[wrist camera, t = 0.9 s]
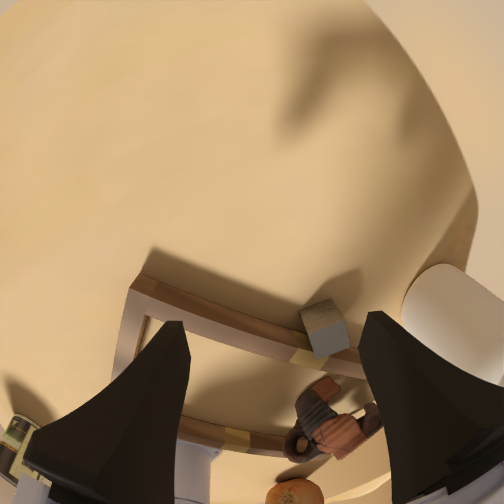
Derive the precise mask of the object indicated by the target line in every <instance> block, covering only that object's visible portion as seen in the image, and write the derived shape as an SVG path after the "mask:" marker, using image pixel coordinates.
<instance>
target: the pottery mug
mask: <svg viewBox="0 0 504 504" xmlns="http://www.w3.org/2000/svg"><path fill="white" fill-rule="evenodd" d="M340 391H341V388H340V386H339V385H338V384H336V383H335V382H334V381H333V380H332V379H331V377H330V376H327V377H325V378H324V379H322V380H321V381H319V382H318V383H316V384H315V385H314V386H313V387H312V388H311V389H309V390H308V391H307V392H306V393H305V394H303V395H302V396H301V397H300V398H299V399H298V400H297V402H296V404H295V408H296V412H297V417H298V419H297V420H296V423H295V426H294V427H293V428H292V429H291V430H290V431H289V433H288V434H287V436H286V437H285V440H284V443H283V452H284V456H286V457H287V458H288V459H289V461H291V462H294V463H304V462H307V461H309V460H311V459H313V458H314V457H316V456H318V455H320V454H323V453H328V454H330V453H332V454H333V455H334V456H335V457H336V458H337V460H341V459H343V458H344V457H346V456H347V455H349V454H350V453H351V452H352V451H354V450H355V449H356V448H358V447H359V446H360V445H362V444H363V443H364V442H365V441H367V439H369V438H370V437H372V436H373V435H374V434H375V433H376V432H378V431H379V430H380V429H381V428H382V427H383V421H382V418H381V415H380V412H379V409H378V406H377V405H376V404H375V403H373V402H372V403H368V404H366V405H364V410H365V412H366V414H365V415H364V416H362V417H361V418H359V419H356V418H354V416H351V415H350V414H346V413H344V414H340V415H338V414H337V412H335V411H334V410H332V409H331V408H330V407H329V405H328V404H327V403H328V402H329V401H330V399H331V398H333V397H334V396H335V395H336V394H337V393H339V392H340ZM300 437H305V438H306V439H307V440H308V444H307V447H306V449H305V451H304V452H299V451H298V450H297V442H298V440H299V438H300ZM316 441H317V442H318V443H317V442H316Z"/></svg>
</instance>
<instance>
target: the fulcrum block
mask: <svg viewBox="0 0 504 504" xmlns="http://www.w3.org/2000/svg"><path fill="white" fill-rule="evenodd" d="M299 312H300V315H301V318H302V321H303V324H304V326H305V329H306V332H307V335H308V338H309V341H310V343H311V346H312V349H313V352H314V355H315V357H316V360H318V359H321V358H323V357H326V356H329V355H331V354H334V353H336V352H339V351H341V350H344V349H346V348H349V347H350V342H349V338H348V333H347V328H346V324H345V320H344V318H343V316H342V315H341V313H340V311H339V310H338V308H337V306H336V305H335V303H334V301H333V300H332V298H331V299H328V300H326V301H323V302H321V303H318V304H315V305H313V306H310V307H307V308H305V309H302V310H299Z"/></svg>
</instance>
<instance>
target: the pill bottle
mask: <svg viewBox="0 0 504 504" xmlns="http://www.w3.org/2000/svg"><path fill="white" fill-rule="evenodd" d="M401 320H402V324H403V327H404V329H405V330H407V331H408V332H409V333H410V334H411V335H413V336H414V337H415V338H416V339H418V340H419V341H420V342H421V343H423V344H424V345H425V346H427V347H428V348H429V349H431V350H432V351H434V352H435V353H436V354H438V355H439V356H441V357H442V358H444V359H445V360H447V361H448V362H450V363H452V364H453V365H455V366H457V367H458V368H460V369H462V370H464V371H466V372H468V373H470V374H472V375H474V376H476V377H478V378H480V379H483V380H485V381H487V382H490V383H493V384H496V385H498V386H502V387H504V301H502V300H501V299H500V298H498V297H497V296H496V295H494V294H493V293H492V292H490V291H489V290H488V289H486V288H485V287H484V286H482V285H481V284H479V283H478V282H477V281H475V280H474V279H472V278H471V277H470V276H468V275H467V274H465V273H464V272H462V271H461V270H459V269H458V268H456V267H454V266H452V265H450V264H437V265H434V266H432V267H430V268H429V269H427V270H426V271H424V272H423V273H422V274H421V275H420V276H419V277H418V278H417V279H416V280H415V281H414V283H413V284H412V285H411V287H410V288H409V290H408V292H407V294H406V296H405V298H404V301H403V304H402V309H401Z"/></svg>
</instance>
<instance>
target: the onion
mask: <svg viewBox="0 0 504 504" xmlns="http://www.w3.org/2000/svg"><path fill="white" fill-rule="evenodd" d="M265 504H324V497H323V494H322V491H321V489H320V488H319V486H318V485H316V484H315V483H313V482H311V481H310V480H307V479H302V478H297V479H293V480H289V481H286V482H282V483H279V484H276V485H275V486H274V487H273V488H271V489H270V490H269V492H268V494H267V496H266V501H265Z"/></svg>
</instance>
